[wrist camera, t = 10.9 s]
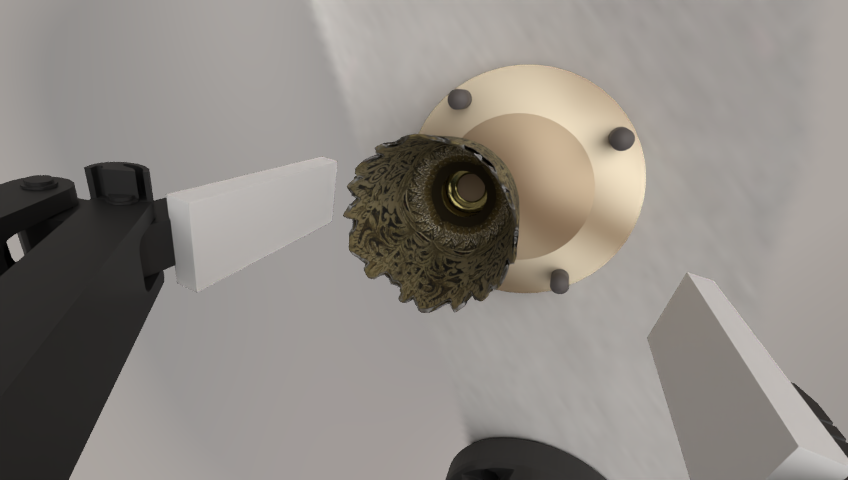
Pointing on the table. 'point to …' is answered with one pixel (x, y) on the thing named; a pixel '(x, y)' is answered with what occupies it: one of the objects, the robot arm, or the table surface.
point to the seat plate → (552, 167)
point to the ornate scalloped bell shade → (434, 220)
